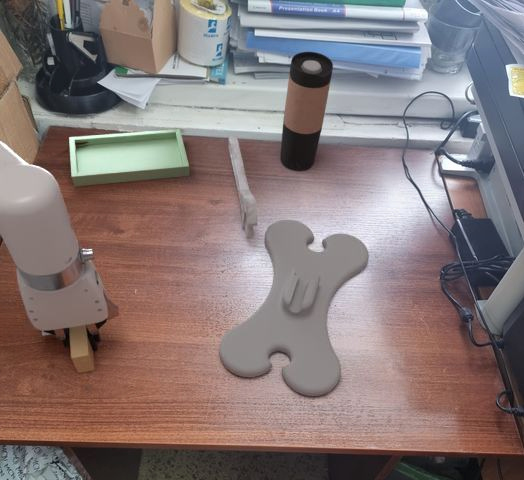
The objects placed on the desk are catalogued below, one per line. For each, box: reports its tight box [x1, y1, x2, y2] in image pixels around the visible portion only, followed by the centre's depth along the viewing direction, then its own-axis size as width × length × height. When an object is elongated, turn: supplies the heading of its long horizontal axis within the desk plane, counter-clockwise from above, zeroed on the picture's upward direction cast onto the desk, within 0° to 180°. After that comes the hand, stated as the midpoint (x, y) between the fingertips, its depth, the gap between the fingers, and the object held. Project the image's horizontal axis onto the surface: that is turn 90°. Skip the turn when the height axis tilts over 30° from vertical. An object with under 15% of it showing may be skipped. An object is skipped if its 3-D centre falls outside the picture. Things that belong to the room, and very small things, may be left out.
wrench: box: [228, 136, 258, 239], centre depth 96 cm, size 8×2×30 cm
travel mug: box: [279, 51, 334, 172], centre depth 97 cm, size 8×8×20 cm
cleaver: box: [41, 325, 96, 374], centre depth 77 cm, size 17×7×4 cm, turn 14°
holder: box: [218, 219, 370, 397], centre depth 83 cm, size 19×34×5 cm, turn 164°
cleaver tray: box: [68, 128, 191, 187], centre depth 100 cm, size 22×12×2 cm, turn 103°
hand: (83, 343), depth 77 cm, fingers closed on cleaver, 2 cm apart
